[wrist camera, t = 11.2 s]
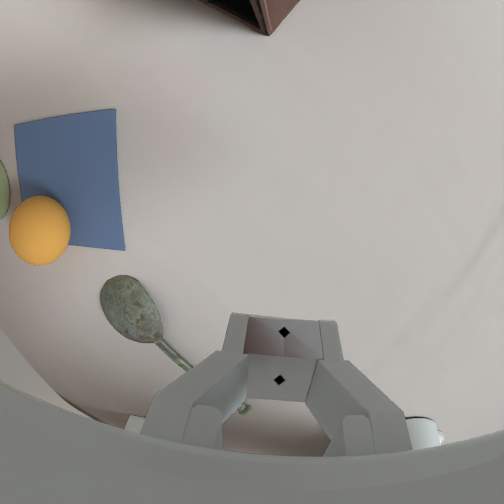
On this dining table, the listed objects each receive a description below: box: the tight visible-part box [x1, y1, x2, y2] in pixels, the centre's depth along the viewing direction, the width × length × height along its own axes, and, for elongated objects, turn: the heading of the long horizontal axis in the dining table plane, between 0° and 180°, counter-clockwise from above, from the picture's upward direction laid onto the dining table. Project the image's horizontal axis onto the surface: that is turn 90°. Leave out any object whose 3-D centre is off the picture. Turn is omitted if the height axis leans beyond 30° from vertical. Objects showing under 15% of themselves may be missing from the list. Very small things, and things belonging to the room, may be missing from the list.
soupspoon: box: [101, 275, 251, 415], centre depth 30 cm, size 22×3×7 cm
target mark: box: [14, 109, 125, 251], centre depth 23 cm, size 12×12×1 cm
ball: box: [9, 196, 71, 265], centre depth 22 cm, size 6×6×6 cm
